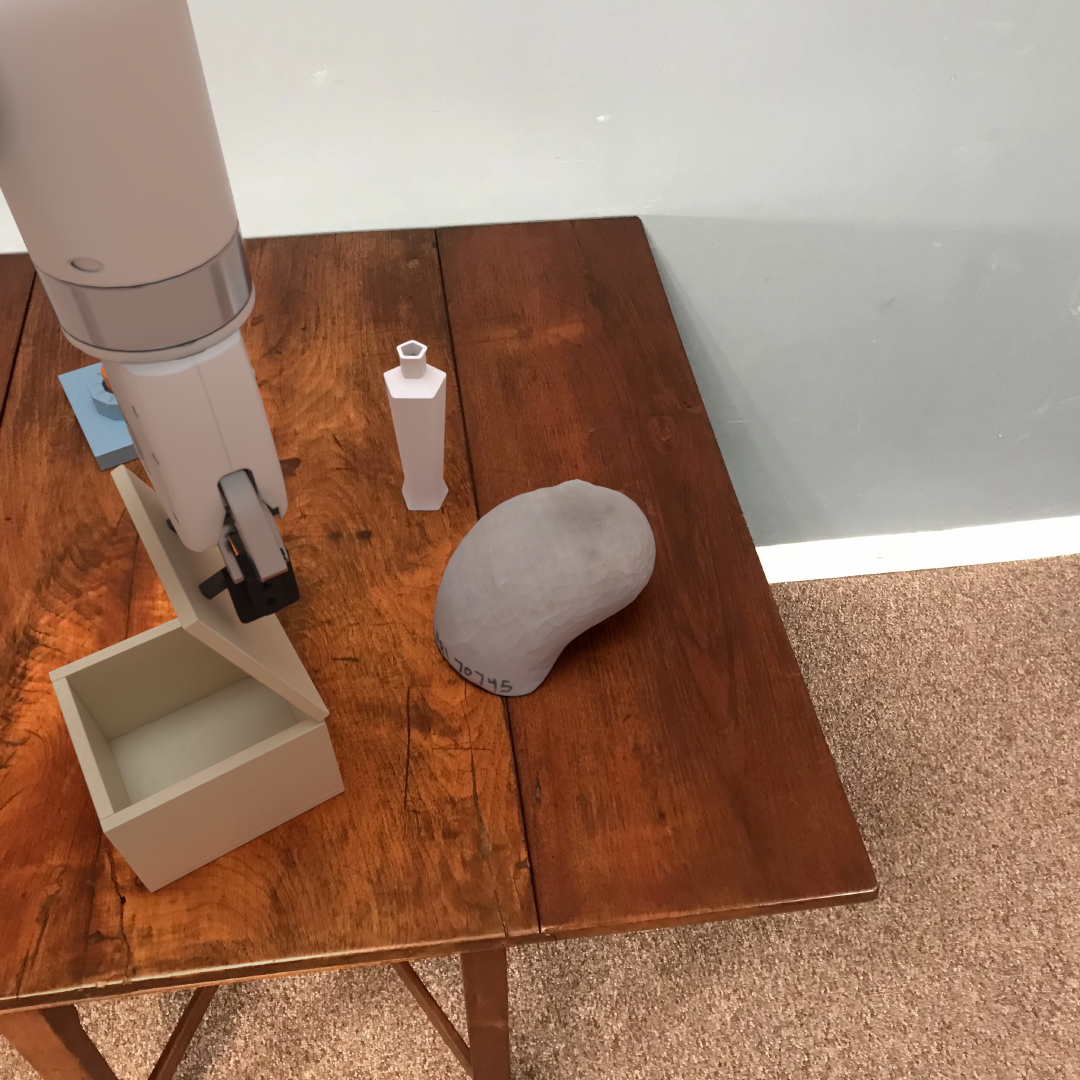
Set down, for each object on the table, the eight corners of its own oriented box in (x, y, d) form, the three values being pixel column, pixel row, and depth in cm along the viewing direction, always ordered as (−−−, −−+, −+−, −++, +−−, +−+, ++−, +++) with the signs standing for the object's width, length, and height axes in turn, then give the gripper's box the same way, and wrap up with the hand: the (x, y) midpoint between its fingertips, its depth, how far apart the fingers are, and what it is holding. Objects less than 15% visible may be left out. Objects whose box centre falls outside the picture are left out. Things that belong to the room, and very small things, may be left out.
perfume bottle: (453, 474, 79) (445, 329, 68) (451, 513, 77) (443, 367, 65) (398, 474, 79) (381, 328, 68) (395, 513, 76) (376, 367, 65)
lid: (182, 629, 42) (274, 564, 43) (109, 471, 49) (189, 416, 49) (319, 722, 54) (390, 670, 54) (245, 585, 60) (309, 538, 60)
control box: (101, 471, 78) (87, 440, 76) (64, 390, 85) (49, 359, 82) (217, 430, 82) (207, 399, 79) (173, 355, 89) (163, 324, 86)
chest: (151, 893, 56) (103, 833, 49) (96, 744, 62) (47, 672, 56) (345, 790, 61) (325, 722, 54) (276, 661, 67) (251, 585, 60)
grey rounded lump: (630, 665, 76) (668, 484, 72) (622, 736, 62) (667, 518, 59) (448, 627, 77) (477, 448, 74) (401, 688, 64) (433, 472, 60)
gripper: (-2, 197, 40) (127, 490, 53) (116, 439, 30) (236, 719, 44) (173, 154, 42) (253, 443, 56) (330, 365, 33) (380, 650, 47)
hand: (245, 562), depth 50 cm, fingers closed on lid, 6 cm apart
